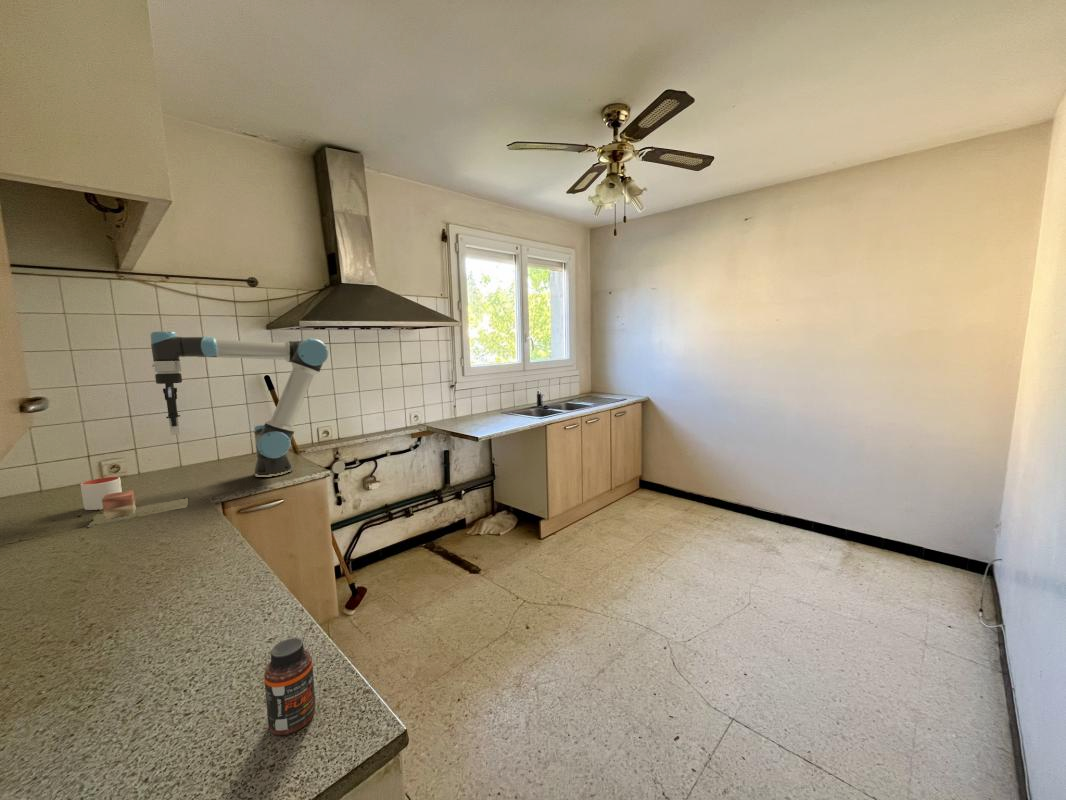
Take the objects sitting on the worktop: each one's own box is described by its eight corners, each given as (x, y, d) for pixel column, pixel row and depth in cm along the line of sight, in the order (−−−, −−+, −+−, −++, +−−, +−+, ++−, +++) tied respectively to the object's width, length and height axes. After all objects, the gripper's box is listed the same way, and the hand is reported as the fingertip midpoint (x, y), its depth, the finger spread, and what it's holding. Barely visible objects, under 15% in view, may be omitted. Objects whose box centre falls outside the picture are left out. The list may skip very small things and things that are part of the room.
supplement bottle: (289, 744, 56) (281, 666, 55) (258, 730, 59) (251, 655, 57) (325, 709, 62) (319, 638, 61) (296, 697, 64) (290, 629, 63)
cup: (99, 512, 146) (95, 485, 145) (76, 511, 148) (72, 484, 147) (131, 502, 156) (127, 476, 155) (109, 502, 158) (105, 476, 157)
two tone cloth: (105, 494, 143) (108, 514, 144) (101, 499, 137) (104, 520, 138) (133, 490, 147) (136, 509, 148) (131, 495, 142) (133, 514, 142)
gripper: (156, 373, 160) (163, 433, 163) (153, 373, 150) (161, 438, 153) (181, 372, 165) (188, 431, 167) (180, 372, 155) (187, 435, 157)
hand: (175, 434), depth 160 cm, fingers closed
